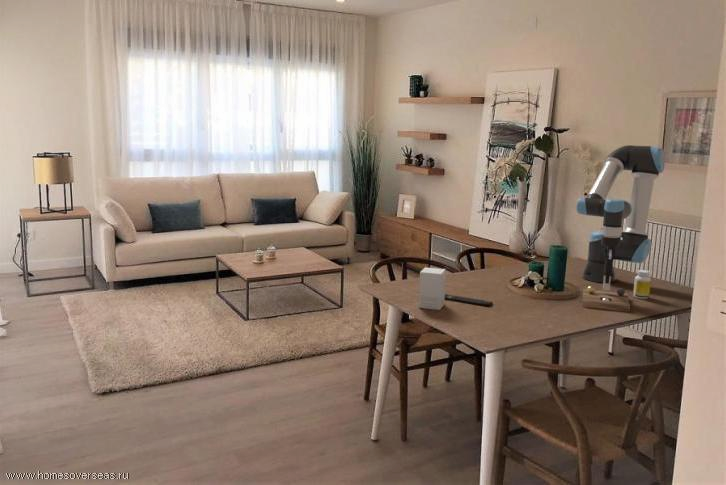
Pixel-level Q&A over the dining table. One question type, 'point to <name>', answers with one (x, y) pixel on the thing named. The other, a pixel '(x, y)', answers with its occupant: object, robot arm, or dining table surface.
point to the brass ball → (590, 289)
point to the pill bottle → (642, 285)
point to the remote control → (468, 300)
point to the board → (614, 301)
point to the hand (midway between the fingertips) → (606, 289)
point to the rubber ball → (620, 291)
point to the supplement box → (432, 288)
